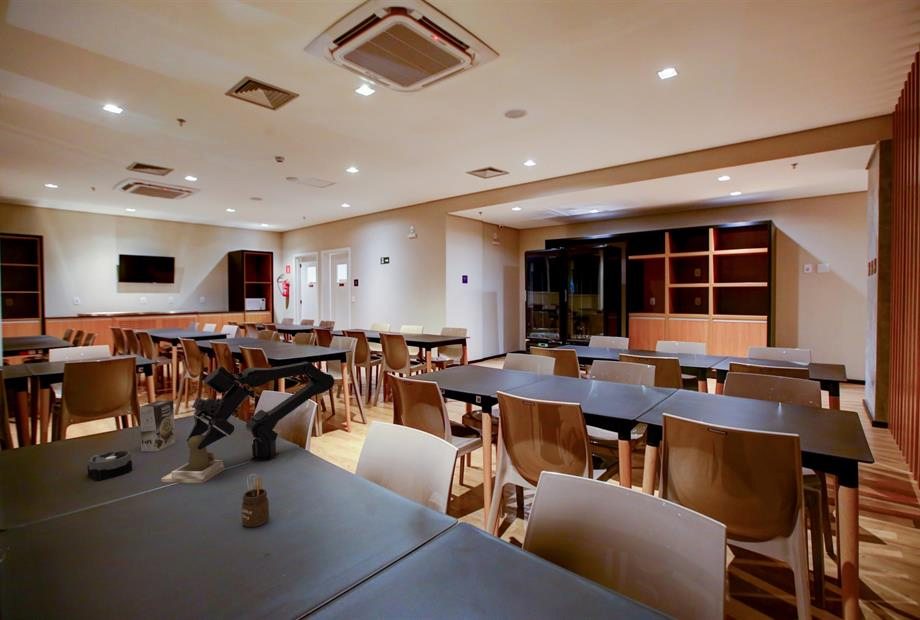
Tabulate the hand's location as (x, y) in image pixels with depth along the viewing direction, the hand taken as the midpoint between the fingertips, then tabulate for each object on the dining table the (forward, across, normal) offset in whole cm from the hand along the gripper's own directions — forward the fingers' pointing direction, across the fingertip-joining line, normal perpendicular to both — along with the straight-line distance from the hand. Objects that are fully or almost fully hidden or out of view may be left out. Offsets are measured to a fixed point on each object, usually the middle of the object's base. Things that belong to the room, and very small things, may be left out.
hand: (193, 445), depth 131 cm
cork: (+5, 0, +7) cm, 9 cm away
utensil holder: (+6, +41, +8) cm, 42 cm away
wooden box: (+7, -1, +7) cm, 10 cm away
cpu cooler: (+19, -23, -4) cm, 30 cm away
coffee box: (+7, -39, +7) cm, 40 cm away
